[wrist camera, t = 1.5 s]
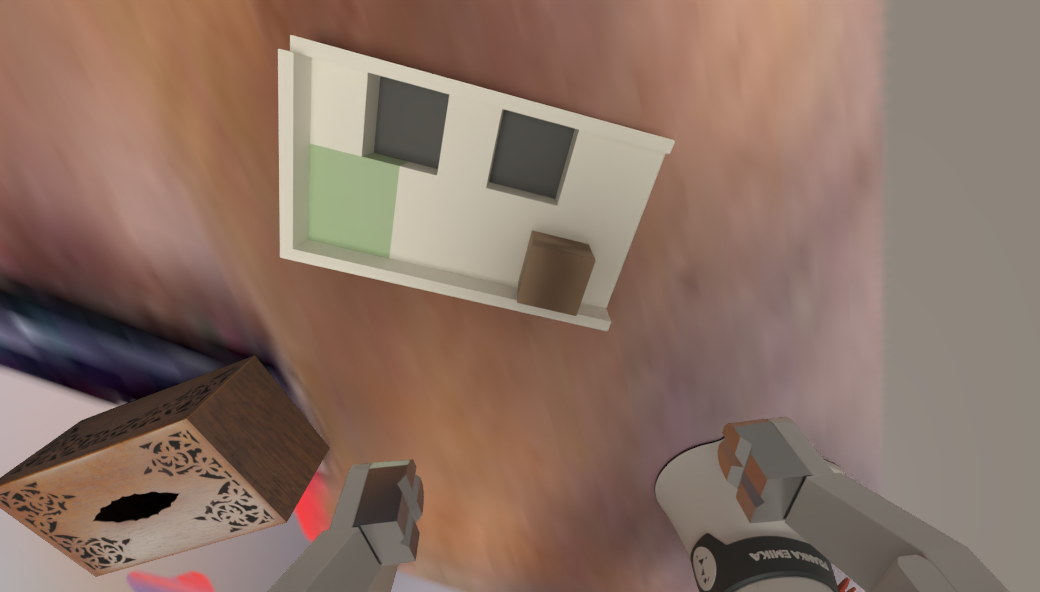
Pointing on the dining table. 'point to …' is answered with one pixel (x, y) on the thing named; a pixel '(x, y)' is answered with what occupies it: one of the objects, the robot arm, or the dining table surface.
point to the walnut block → (555, 273)
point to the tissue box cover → (169, 471)
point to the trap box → (449, 179)
